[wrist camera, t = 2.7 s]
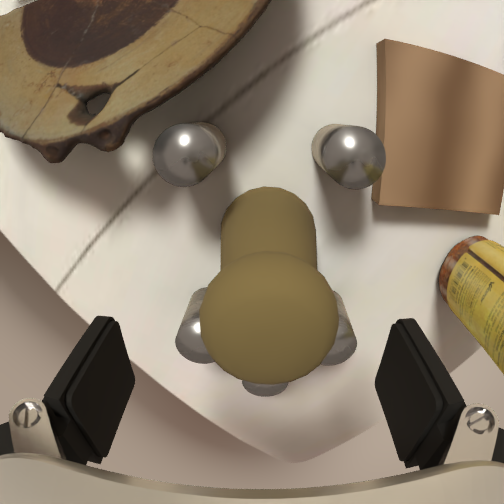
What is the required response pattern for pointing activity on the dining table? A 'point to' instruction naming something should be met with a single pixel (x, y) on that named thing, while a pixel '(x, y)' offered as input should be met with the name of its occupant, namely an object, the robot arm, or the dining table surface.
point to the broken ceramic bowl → (106, 64)
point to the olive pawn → (268, 292)
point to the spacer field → (210, 156)
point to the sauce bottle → (477, 291)
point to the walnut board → (439, 130)
